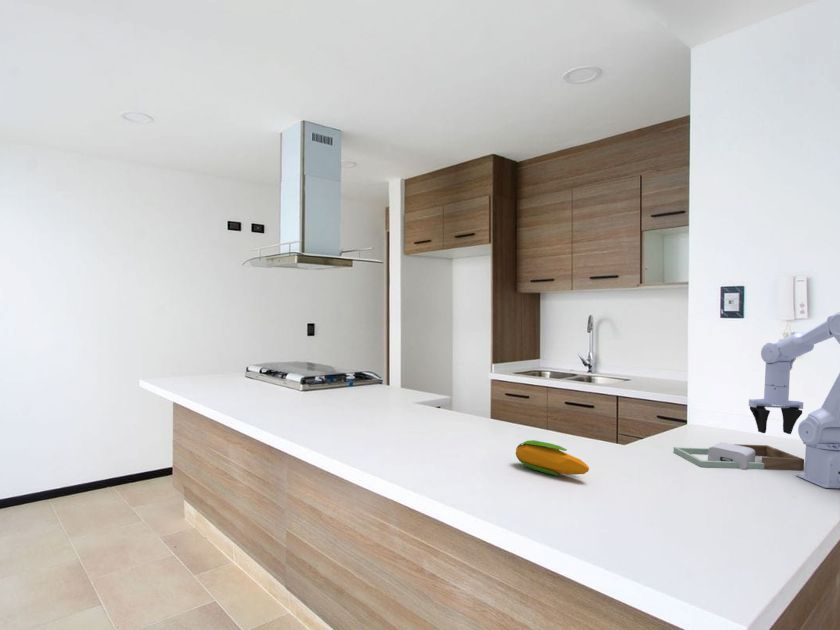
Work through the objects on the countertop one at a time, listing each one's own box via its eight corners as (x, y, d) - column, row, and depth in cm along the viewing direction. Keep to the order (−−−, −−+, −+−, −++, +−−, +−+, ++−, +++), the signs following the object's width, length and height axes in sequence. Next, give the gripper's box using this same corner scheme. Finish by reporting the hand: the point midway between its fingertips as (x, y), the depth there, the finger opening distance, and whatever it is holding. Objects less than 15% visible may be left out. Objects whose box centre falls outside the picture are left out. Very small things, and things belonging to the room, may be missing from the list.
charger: (760, 461, 145) (745, 471, 135) (725, 453, 152) (707, 462, 142) (761, 445, 145) (746, 453, 135) (725, 438, 152) (708, 446, 142)
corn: (525, 432, 135) (596, 448, 122) (524, 460, 136) (596, 479, 122) (509, 438, 130) (583, 456, 116) (509, 467, 130) (583, 488, 117)
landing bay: (764, 469, 137) (764, 463, 137) (700, 467, 136) (701, 461, 136) (730, 454, 151) (731, 449, 150) (673, 452, 150) (673, 447, 150)
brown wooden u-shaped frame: (803, 470, 137) (804, 459, 137) (764, 469, 137) (764, 458, 136) (766, 455, 151) (767, 445, 151) (730, 454, 151) (731, 444, 150)
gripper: (790, 384, 148) (788, 430, 148) (742, 382, 147) (740, 428, 147) (810, 388, 141) (807, 436, 141) (759, 386, 140) (757, 434, 140)
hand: (774, 432), depth 144 cm, fingers open, 7 cm apart
